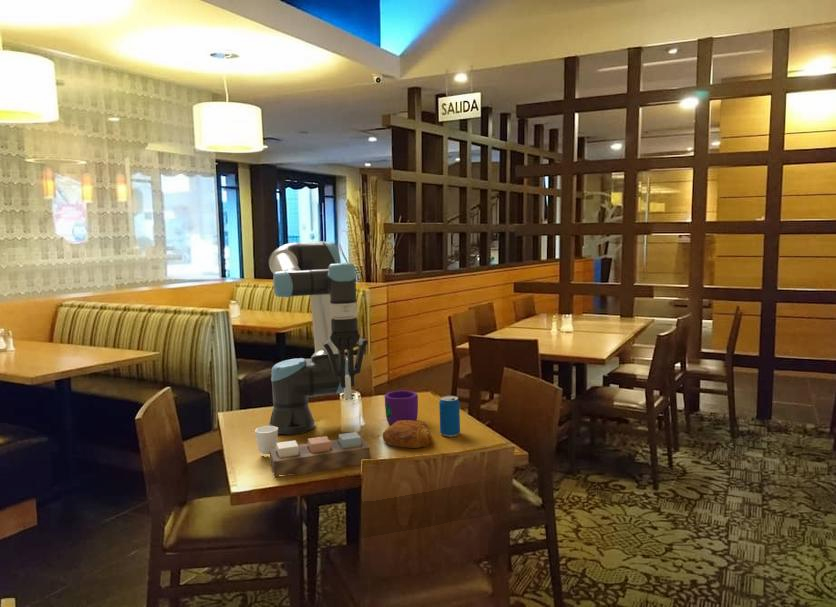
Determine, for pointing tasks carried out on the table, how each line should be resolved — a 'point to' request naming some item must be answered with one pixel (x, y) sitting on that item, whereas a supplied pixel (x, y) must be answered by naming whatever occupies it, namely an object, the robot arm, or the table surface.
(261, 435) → the cup
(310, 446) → the terracotta key
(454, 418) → the beverage can
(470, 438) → the table surface
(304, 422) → the robot arm
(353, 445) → the slate key
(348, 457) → the key block
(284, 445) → the ivory key
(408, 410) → the mug
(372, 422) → the table surface
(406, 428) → the pastry
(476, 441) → the table surface
